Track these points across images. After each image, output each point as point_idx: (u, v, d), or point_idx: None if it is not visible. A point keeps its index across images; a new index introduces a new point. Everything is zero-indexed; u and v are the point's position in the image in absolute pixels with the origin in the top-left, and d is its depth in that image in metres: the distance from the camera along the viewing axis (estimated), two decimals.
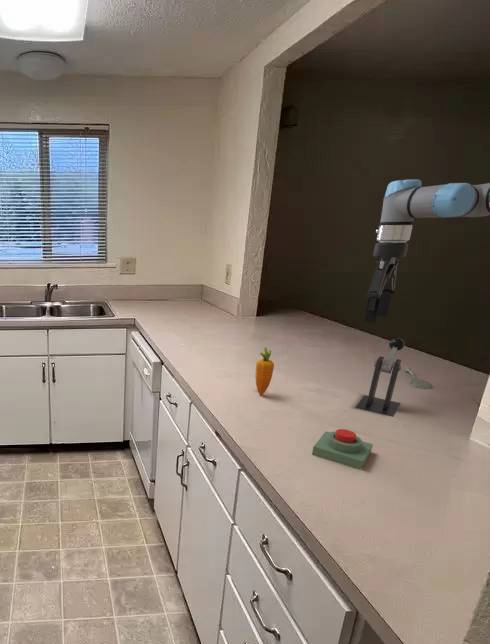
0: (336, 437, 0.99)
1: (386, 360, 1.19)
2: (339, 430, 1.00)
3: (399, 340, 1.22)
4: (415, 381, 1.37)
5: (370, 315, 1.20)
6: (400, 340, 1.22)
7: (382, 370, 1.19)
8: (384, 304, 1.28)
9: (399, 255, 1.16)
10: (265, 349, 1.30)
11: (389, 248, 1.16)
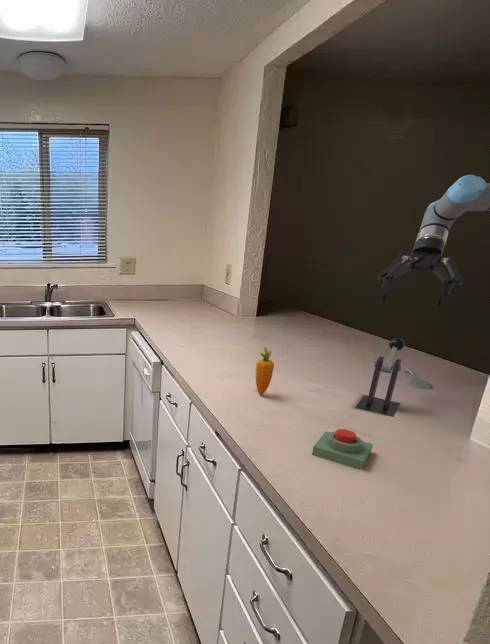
0: (336, 437, 0.99)
1: (386, 360, 1.19)
2: (339, 430, 1.00)
3: (399, 340, 1.22)
4: (415, 381, 1.37)
5: None
6: (400, 340, 1.22)
7: (382, 370, 1.19)
8: None
9: (418, 246, 1.33)
10: (265, 349, 1.30)
11: None
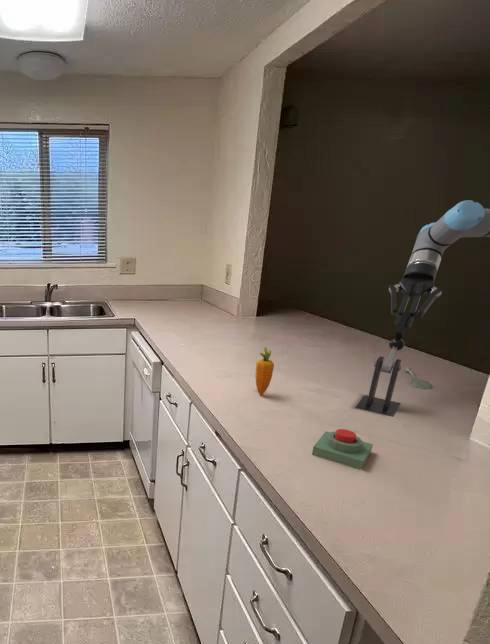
0: (336, 437, 0.99)
1: (386, 360, 1.19)
2: (339, 430, 1.00)
3: (399, 340, 1.22)
4: (415, 381, 1.37)
5: None
6: (400, 340, 1.22)
7: (382, 370, 1.19)
8: None
9: (409, 272, 1.27)
10: (265, 349, 1.30)
11: (405, 272, 1.30)
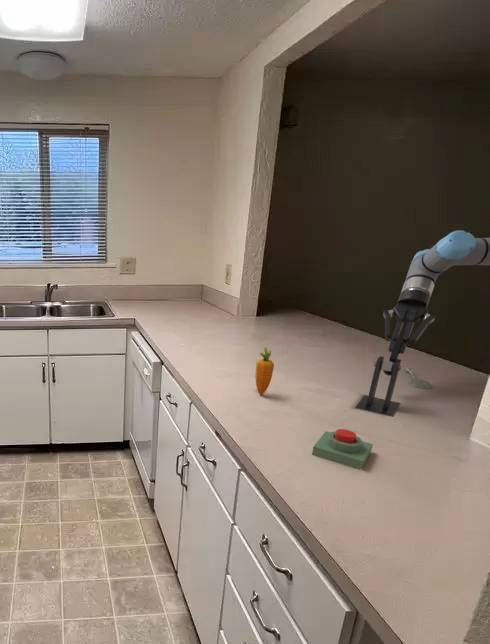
0: (336, 437, 0.99)
1: None
2: (339, 430, 1.00)
3: None
4: (415, 381, 1.37)
5: None
6: None
7: (382, 367, 1.18)
8: None
9: (402, 298, 1.30)
10: (265, 349, 1.30)
11: None
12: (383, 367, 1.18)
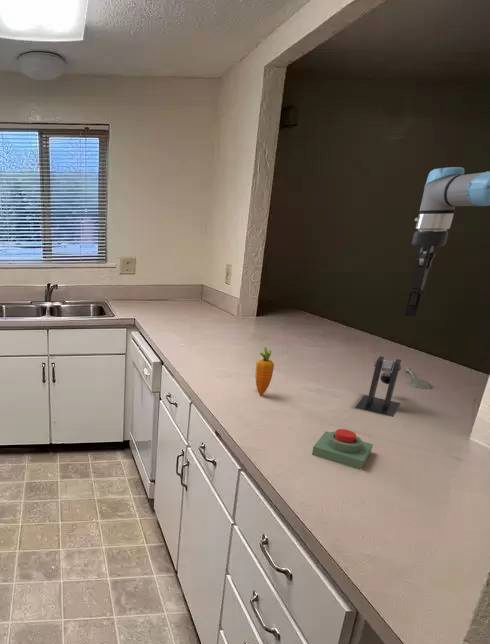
0: (336, 437, 0.99)
1: None
2: (339, 430, 1.00)
3: (391, 372, 1.26)
4: (415, 381, 1.37)
5: (411, 309, 1.26)
6: None
7: (383, 366, 1.18)
8: None
9: (440, 244, 1.16)
10: (265, 349, 1.30)
11: (430, 236, 1.16)
12: (383, 366, 1.18)
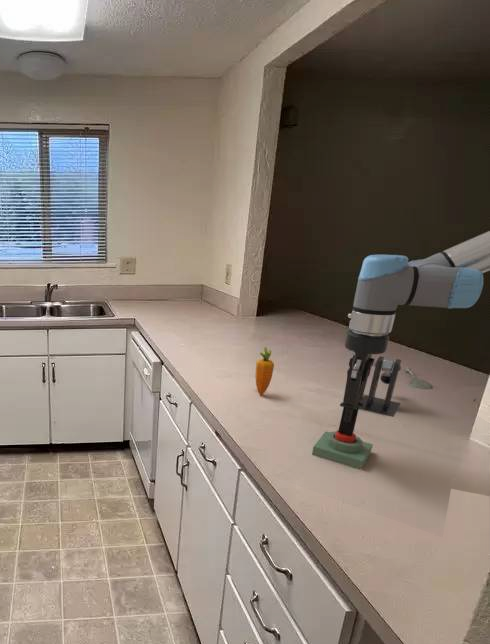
0: (336, 438, 0.99)
1: None
2: None
3: (391, 372, 1.26)
4: (415, 381, 1.37)
5: (345, 426, 0.97)
6: None
7: (383, 366, 1.18)
8: None
9: (378, 352, 0.88)
10: (265, 349, 1.30)
11: (365, 343, 0.88)
12: (383, 366, 1.18)
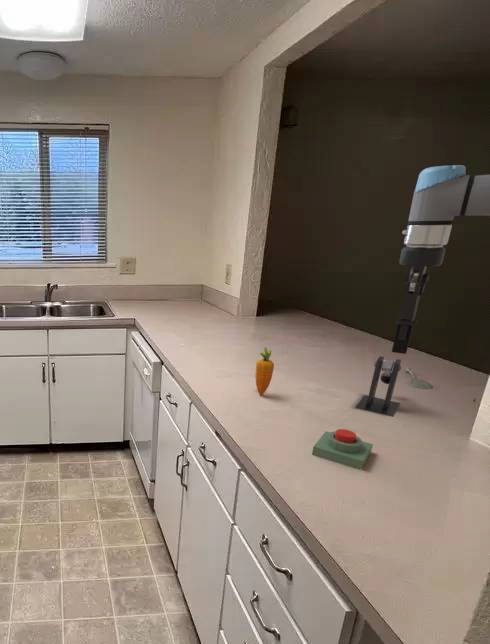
0: (336, 437, 0.99)
1: None
2: (339, 430, 1.00)
3: (391, 372, 1.26)
4: (415, 381, 1.37)
5: (399, 345, 0.99)
6: None
7: (383, 366, 1.18)
8: None
9: (435, 264, 0.90)
10: (265, 349, 1.30)
11: (422, 255, 0.90)
12: (383, 366, 1.18)
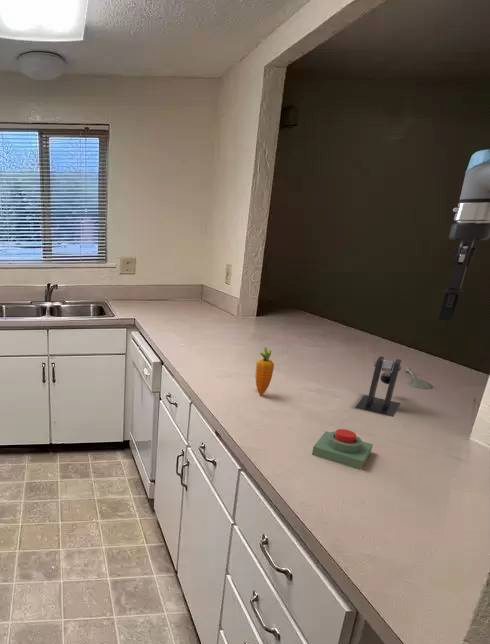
0: (336, 437, 0.99)
1: None
2: (339, 430, 1.00)
3: (391, 372, 1.26)
4: (415, 381, 1.37)
5: (446, 312, 1.10)
6: None
7: (383, 366, 1.18)
8: None
9: (483, 237, 1.01)
10: (265, 349, 1.30)
11: (472, 229, 1.01)
12: (383, 366, 1.18)
